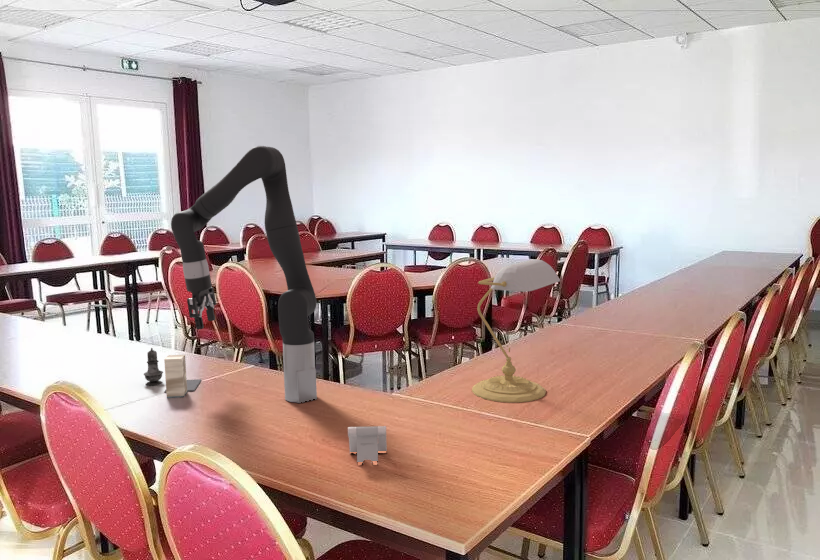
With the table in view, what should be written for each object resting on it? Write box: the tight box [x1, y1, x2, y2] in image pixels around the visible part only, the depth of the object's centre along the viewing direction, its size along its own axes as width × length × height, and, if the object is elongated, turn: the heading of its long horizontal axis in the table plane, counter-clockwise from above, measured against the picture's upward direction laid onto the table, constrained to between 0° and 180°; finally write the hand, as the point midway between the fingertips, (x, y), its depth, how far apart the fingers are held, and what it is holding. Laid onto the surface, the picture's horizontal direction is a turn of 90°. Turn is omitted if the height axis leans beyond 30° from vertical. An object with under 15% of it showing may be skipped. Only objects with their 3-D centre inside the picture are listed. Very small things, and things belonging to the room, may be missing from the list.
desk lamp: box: [471, 258, 561, 404], centre depth 197 cm, size 31×23×40 cm
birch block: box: [163, 354, 188, 399], centre depth 199 cm, size 5×5×12 cm
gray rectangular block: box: [163, 378, 202, 394], centre depth 208 cm, size 12×9×1 cm
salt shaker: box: [143, 347, 164, 387], centre depth 211 cm, size 6×6×12 cm
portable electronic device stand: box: [347, 425, 388, 463], centre depth 150 cm, size 9×8×8 cm
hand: (206, 324), depth 205 cm, fingers open, 8 cm apart
